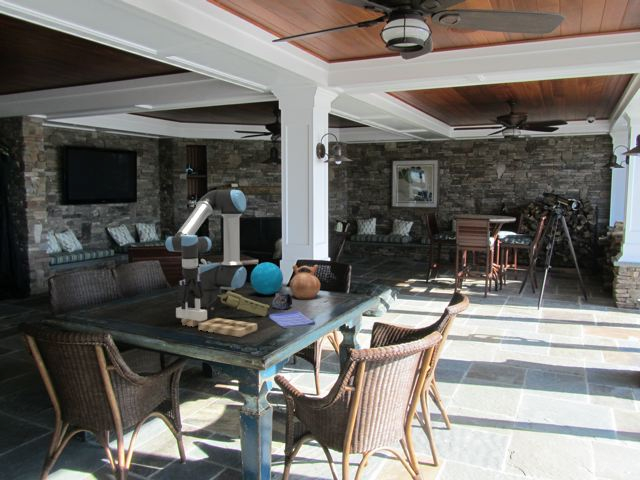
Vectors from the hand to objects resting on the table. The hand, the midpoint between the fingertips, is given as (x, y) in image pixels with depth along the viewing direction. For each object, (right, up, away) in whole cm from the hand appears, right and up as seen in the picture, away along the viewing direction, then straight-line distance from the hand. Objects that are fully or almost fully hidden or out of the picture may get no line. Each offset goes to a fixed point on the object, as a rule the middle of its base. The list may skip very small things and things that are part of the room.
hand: (191, 313), depth 256 cm
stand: (0, -5, +1) cm, 5 cm away
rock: (+41, -2, +36) cm, 55 cm away
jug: (+53, +1, +64) cm, 83 cm away
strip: (0, -5, 0) cm, 5 cm away
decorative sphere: (+29, +2, +73) cm, 78 cm away
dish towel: (+48, -5, +7) cm, 49 cm away
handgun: (+20, -4, +14) cm, 25 cm away
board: (+19, -6, -10) cm, 23 cm away
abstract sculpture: (-5, +2, +79) cm, 80 cm away
